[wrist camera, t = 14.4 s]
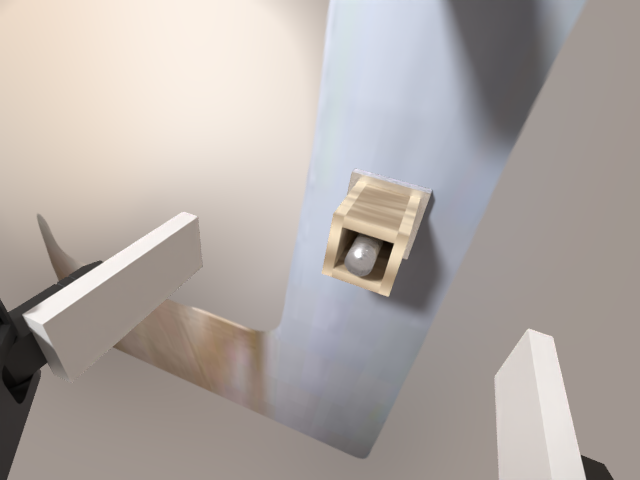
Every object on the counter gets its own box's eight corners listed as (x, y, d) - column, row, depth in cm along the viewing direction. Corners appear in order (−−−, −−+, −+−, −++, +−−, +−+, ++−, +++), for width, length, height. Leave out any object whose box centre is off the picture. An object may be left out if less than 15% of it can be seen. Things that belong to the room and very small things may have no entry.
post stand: (354, 168, 45) (320, 208, 34) (431, 189, 43) (420, 239, 32) (341, 232, 50) (307, 284, 40) (408, 254, 48) (392, 315, 38)
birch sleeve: (357, 181, 44) (333, 213, 36) (420, 198, 42) (409, 237, 34) (346, 233, 48) (321, 273, 40) (402, 251, 47) (388, 296, 38)
